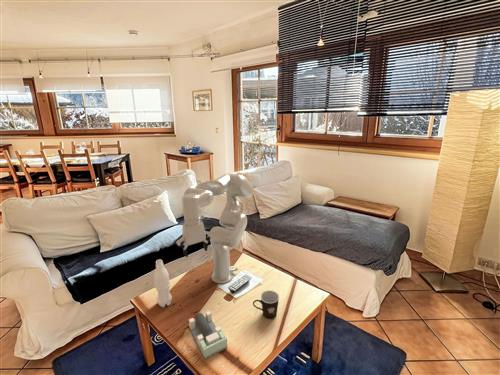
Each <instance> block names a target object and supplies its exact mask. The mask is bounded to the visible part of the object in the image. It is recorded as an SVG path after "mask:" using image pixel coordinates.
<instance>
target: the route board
mask: <svg viewBox="0 0 500 375" xmlns="http://www.w3.org/2000/svg"><path fill="white" fill-rule="evenodd" d="M204 317H205V319H206V320H207V322H208V324H209V326H210V327H211V329H212V331H213V333H215V332H217V333H218V335H219V337H220V340H219V341H217V342H215V343H213V344H211V345H209V346H207V345H206V339H205V337H204V335H203V333H202V331H201V330H200V328H199V326H198V324H197V322H196V320H195V317H192V318H189V319H188V325H187V326H188V328H189V329H191V330H190V332H191V333H192V336H193V338H194V340H195V342H196V344H197V346H198V348H199V350H200V352H201V355H202V357H203V358H204V360H207V359H208V358H210V357H212V356H215V355H216V354H217V353H221V352H222V351H224V350H226V349H228V337H227V336H226V334H225V333H224V331H223V330H222V328H221V327H220V325H218V326H216V325H215V323H214V321H213V318H212V317H213V316H212V312H211V311H210V310H208V311H205V315H204Z"/></svg>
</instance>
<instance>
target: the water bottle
mask: <svg viewBox="0 0 500 375" xmlns="http://www.w3.org/2000/svg"><path fill="white" fill-rule="evenodd" d="M168 271H169V270H167V268H165V266H164V262H163V260H162V259H160V258H159V259H157V260H156V261H155V270H154V273H153V281H154V289H156V291H157V299H156V302H157V304H158V305H159V306H160V307H162V308H165V307H166V306H170V305H171V303H172V299H173V296H172V295H171V292H170V287H171V281H170V275H169V274H170V273H169V272H168Z"/></svg>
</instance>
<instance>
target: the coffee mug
mask: <svg viewBox="0 0 500 375" xmlns="http://www.w3.org/2000/svg"><path fill="white" fill-rule="evenodd" d="M279 300H280V296H279V294H278V292H276V291H275V290H265V291H263V292H262V293H261V294H260V299H255V300H254V301H253V302H252V305H253V307H254V308H256V309H258V310H260V311H262V315H263V317H264V318H265V319H268V320H274V319H275V318H276V317H277V314H278V313H277V312H278V306H279ZM257 302H259V303H260V304H261V308H260V307H259V306H256V305H255V303H257Z"/></svg>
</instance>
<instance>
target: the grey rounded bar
mask: <svg viewBox="0 0 500 375" xmlns="http://www.w3.org/2000/svg"><path fill="white" fill-rule="evenodd" d="M194 320H195V321H196V322H197V324H198V326H199V328H200V330H201V331H202V333H203V335H204V337H205V339H206V345H207V346H209V345H211V344H213V343H215V342H217V341H219V340H220V337H219V335H218V333H217V332H215V333H213V331H212V329H211V327H210V326H209V324H208V322H207V320H206V319H205V315H204V314H203V313H202V312H198V313H197V314H195V316H194Z"/></svg>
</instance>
